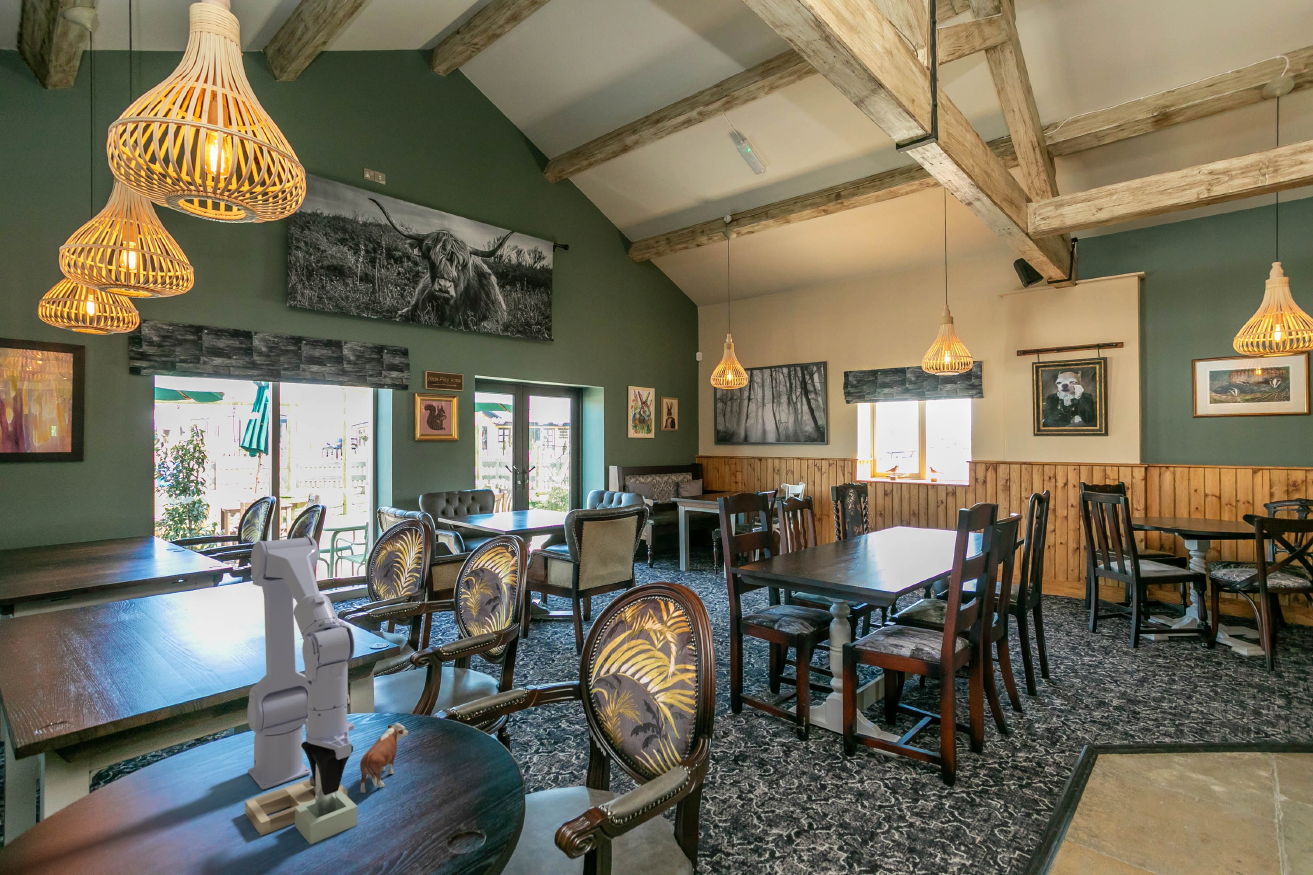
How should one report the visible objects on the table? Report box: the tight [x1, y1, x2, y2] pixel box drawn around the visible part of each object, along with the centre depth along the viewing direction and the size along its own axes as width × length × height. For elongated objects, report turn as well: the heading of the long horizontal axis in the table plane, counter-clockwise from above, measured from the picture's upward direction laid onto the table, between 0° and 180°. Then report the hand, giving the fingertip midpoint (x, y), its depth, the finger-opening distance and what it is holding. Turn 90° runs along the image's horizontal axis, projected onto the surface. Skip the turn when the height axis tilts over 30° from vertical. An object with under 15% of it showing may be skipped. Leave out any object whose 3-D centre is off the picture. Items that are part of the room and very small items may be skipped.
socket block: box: [244, 778, 348, 836], centre depth 107 cm, size 9×13×2 cm
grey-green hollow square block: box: [294, 790, 358, 845], centre depth 102 cm, size 7×7×3 cm
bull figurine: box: [359, 722, 409, 794], centre depth 117 cm, size 4×13×8 cm, turn 174°
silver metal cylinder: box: [315, 763, 336, 816], centre depth 102 cm, size 3×3×8 cm
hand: (326, 787), depth 102 cm, fingers closed on silver metal cylinder, 3 cm apart
